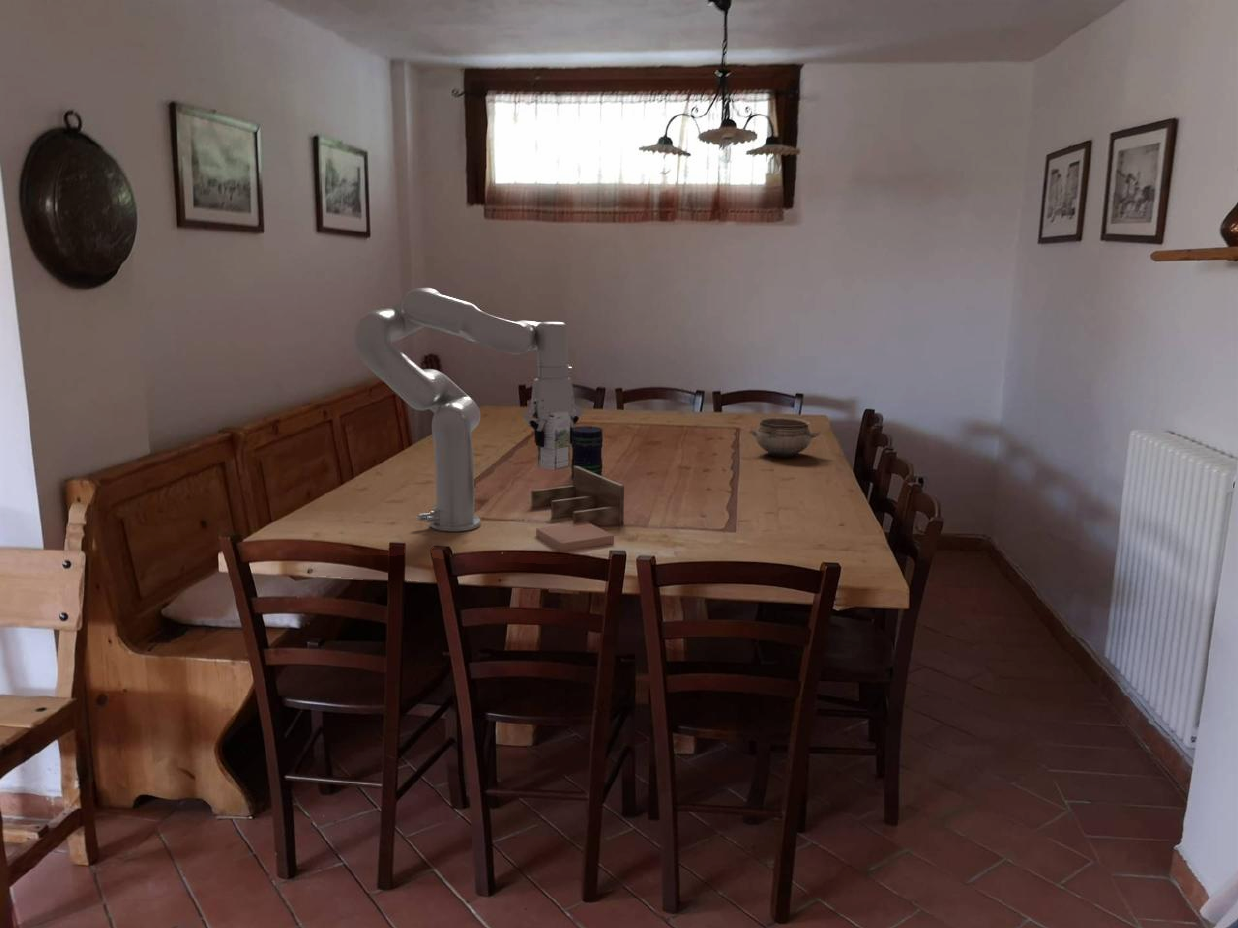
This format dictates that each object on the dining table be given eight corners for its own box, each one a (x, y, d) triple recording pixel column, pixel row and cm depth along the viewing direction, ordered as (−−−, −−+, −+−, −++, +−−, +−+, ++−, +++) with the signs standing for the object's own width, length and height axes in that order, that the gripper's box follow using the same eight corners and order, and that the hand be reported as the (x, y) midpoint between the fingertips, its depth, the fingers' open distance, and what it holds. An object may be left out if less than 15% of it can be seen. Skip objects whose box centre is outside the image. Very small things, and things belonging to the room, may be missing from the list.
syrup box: (553, 463, 238) (552, 406, 235) (570, 466, 234) (570, 409, 231) (537, 467, 234) (536, 409, 230) (555, 470, 230) (554, 412, 227)
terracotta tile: (562, 551, 220) (562, 543, 219) (536, 536, 231) (536, 528, 231) (613, 543, 227) (614, 535, 226) (586, 528, 238) (586, 521, 238)
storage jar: (598, 480, 289) (599, 433, 286) (567, 478, 291) (567, 431, 288) (605, 473, 299) (606, 427, 296) (575, 471, 301) (575, 425, 298)
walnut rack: (575, 529, 237) (575, 491, 235) (531, 506, 259) (531, 470, 256) (623, 522, 244) (624, 485, 242) (577, 500, 266) (577, 465, 263)
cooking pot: (815, 451, 339) (817, 418, 336) (821, 462, 320) (823, 427, 318) (745, 448, 341) (747, 415, 338) (747, 459, 323) (748, 424, 320)
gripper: (576, 369, 237) (576, 438, 240) (513, 373, 227) (515, 445, 231) (591, 372, 230) (591, 443, 234) (527, 377, 221) (529, 451, 225)
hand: (553, 444), depth 233 cm, fingers closed on syrup box, 7 cm apart
